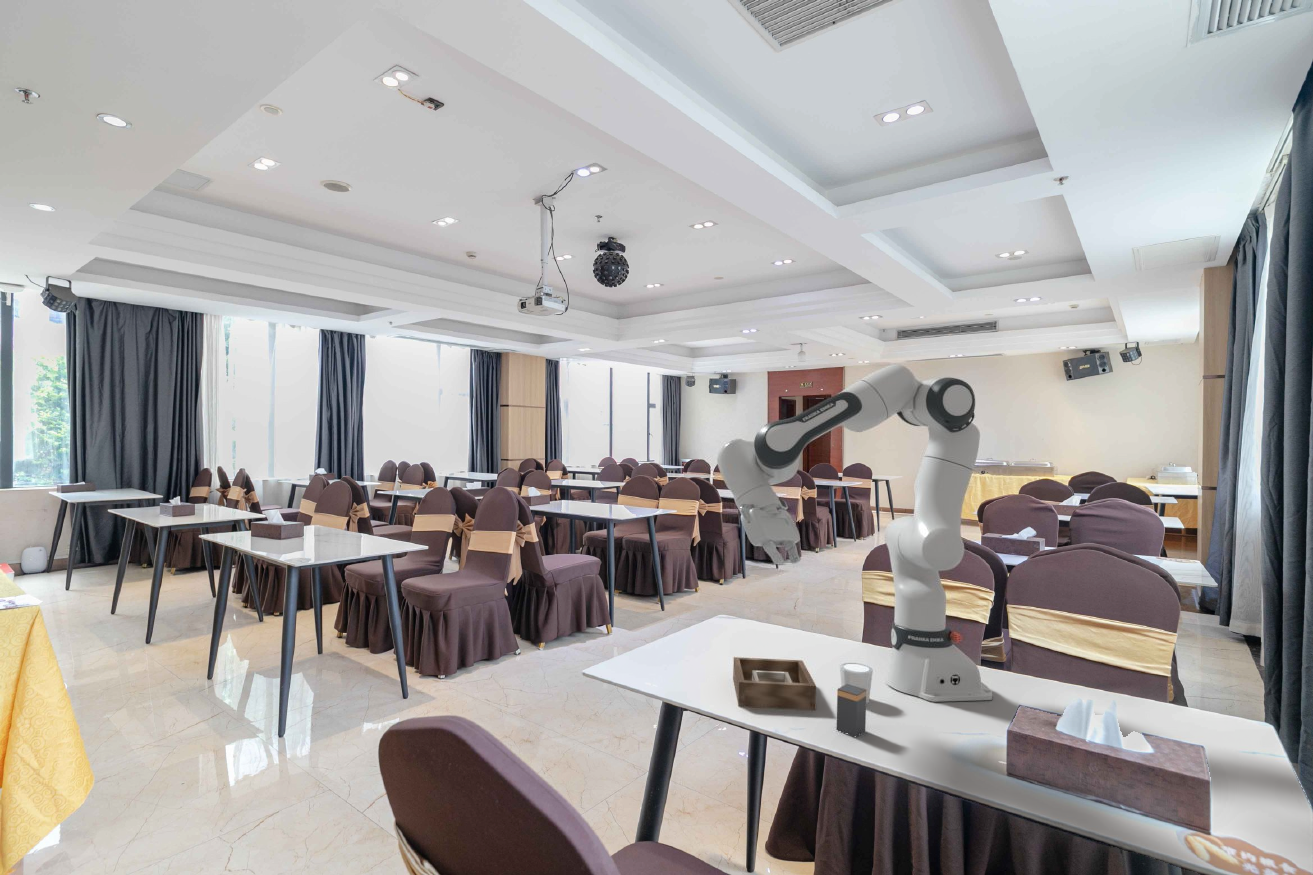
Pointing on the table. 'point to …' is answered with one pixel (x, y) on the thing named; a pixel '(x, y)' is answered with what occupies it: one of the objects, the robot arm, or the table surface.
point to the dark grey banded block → (851, 709)
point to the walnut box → (773, 683)
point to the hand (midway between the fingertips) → (788, 562)
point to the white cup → (856, 676)
